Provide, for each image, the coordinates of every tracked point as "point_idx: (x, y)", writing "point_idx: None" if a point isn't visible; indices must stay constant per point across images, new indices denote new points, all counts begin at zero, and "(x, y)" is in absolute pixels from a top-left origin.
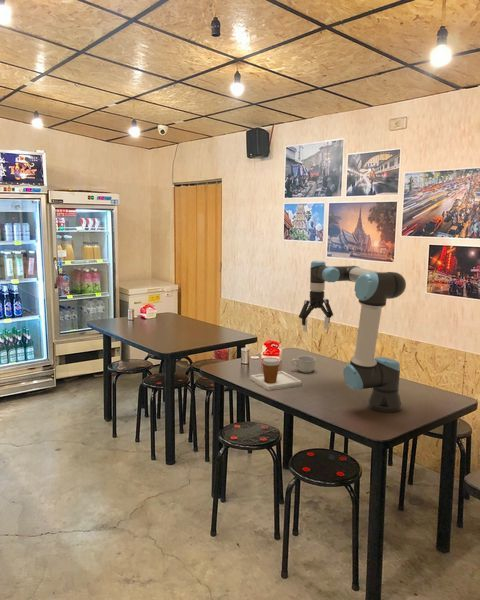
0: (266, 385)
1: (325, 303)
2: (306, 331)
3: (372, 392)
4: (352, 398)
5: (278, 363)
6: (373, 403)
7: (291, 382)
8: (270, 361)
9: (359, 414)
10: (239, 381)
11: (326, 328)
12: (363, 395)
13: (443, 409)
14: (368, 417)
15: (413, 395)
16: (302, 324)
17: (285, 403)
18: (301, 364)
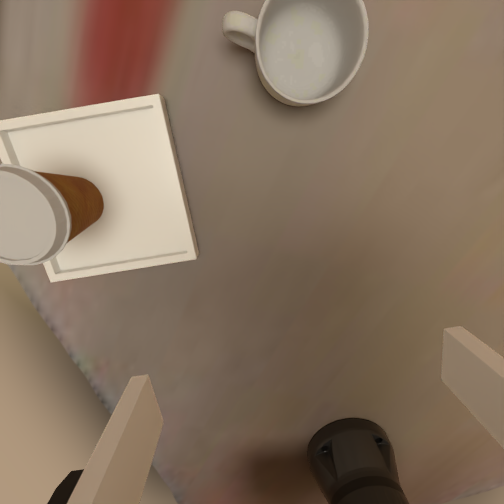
0: (46, 266)
1: None
2: (157, 425)
3: (328, 484)
4: (304, 388)
5: (56, 255)
6: (312, 474)
7: (151, 263)
8: (3, 242)
9: (259, 472)
10: None
11: (450, 375)
12: (349, 375)
13: (466, 482)
14: (270, 487)
15: None
16: (65, 494)
17: (95, 383)
18: (264, 82)
